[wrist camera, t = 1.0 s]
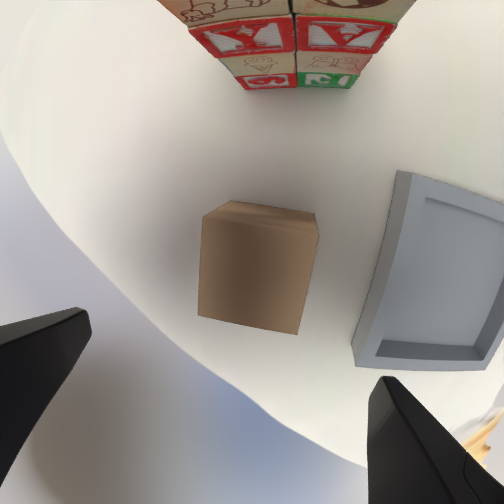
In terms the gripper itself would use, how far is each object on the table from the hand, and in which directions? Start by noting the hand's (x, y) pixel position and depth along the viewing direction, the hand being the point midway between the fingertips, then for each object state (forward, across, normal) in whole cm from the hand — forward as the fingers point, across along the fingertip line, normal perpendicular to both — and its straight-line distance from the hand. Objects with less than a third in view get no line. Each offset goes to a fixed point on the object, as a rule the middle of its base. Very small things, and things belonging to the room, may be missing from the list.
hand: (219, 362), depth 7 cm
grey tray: (+11, -13, 0) cm, 17 cm away
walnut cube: (+11, 0, 0) cm, 11 cm away
